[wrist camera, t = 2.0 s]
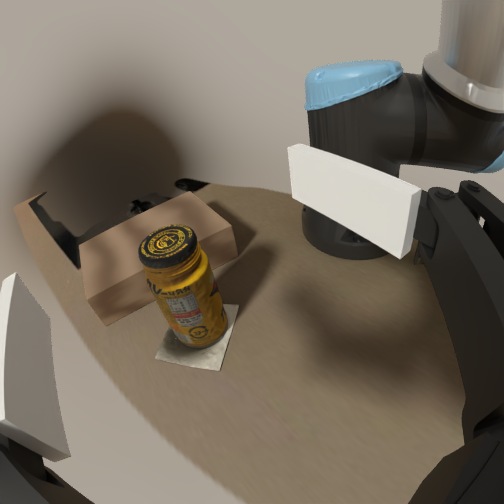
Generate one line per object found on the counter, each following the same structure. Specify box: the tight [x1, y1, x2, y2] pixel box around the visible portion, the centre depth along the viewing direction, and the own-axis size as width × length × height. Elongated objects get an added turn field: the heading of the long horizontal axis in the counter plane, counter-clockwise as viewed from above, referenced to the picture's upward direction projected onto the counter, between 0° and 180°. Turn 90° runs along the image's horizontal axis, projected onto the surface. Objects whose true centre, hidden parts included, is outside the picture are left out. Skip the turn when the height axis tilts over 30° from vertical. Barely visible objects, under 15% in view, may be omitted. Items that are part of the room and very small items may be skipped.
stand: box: [79, 191, 239, 326], centre depth 39 cm, size 20×14×5 cm
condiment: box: [138, 224, 239, 371], centre depth 27 cm, size 7×8×12 cm
